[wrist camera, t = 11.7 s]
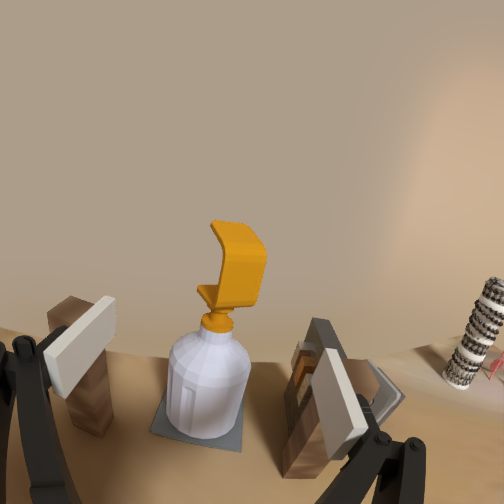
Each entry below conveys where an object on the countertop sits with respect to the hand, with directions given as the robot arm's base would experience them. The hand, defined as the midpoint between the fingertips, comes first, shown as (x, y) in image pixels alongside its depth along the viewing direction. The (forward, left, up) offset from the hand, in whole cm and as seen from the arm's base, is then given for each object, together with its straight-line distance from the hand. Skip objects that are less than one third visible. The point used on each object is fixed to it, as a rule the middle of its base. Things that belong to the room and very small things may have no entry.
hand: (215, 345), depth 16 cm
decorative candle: (+55, +24, -20) cm, 63 cm away
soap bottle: (0, +11, -19) cm, 22 cm away
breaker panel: (+13, +13, -20) cm, 27 cm away
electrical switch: (+23, +14, -20) cm, 33 cm away
